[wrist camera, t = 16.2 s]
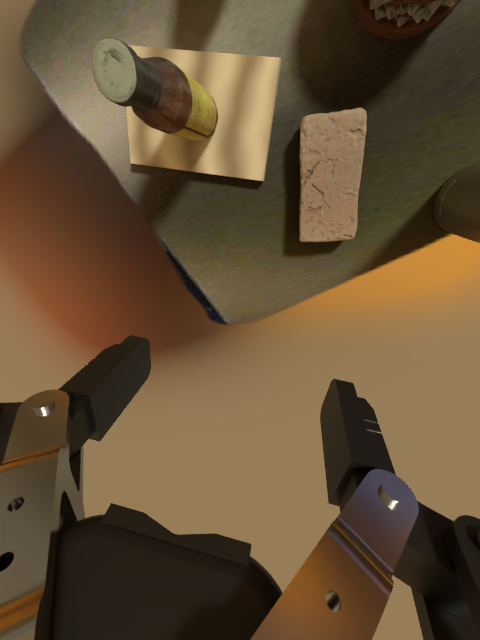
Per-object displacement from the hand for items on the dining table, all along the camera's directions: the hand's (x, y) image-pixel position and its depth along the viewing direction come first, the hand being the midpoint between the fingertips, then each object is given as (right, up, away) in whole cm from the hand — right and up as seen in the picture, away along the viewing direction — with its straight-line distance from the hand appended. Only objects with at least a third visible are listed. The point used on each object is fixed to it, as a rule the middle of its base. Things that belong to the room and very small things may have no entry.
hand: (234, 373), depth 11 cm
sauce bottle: (-6, +32, +27) cm, 42 cm away
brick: (+14, +24, +29) cm, 40 cm away
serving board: (-6, +33, +28) cm, 43 cm away
